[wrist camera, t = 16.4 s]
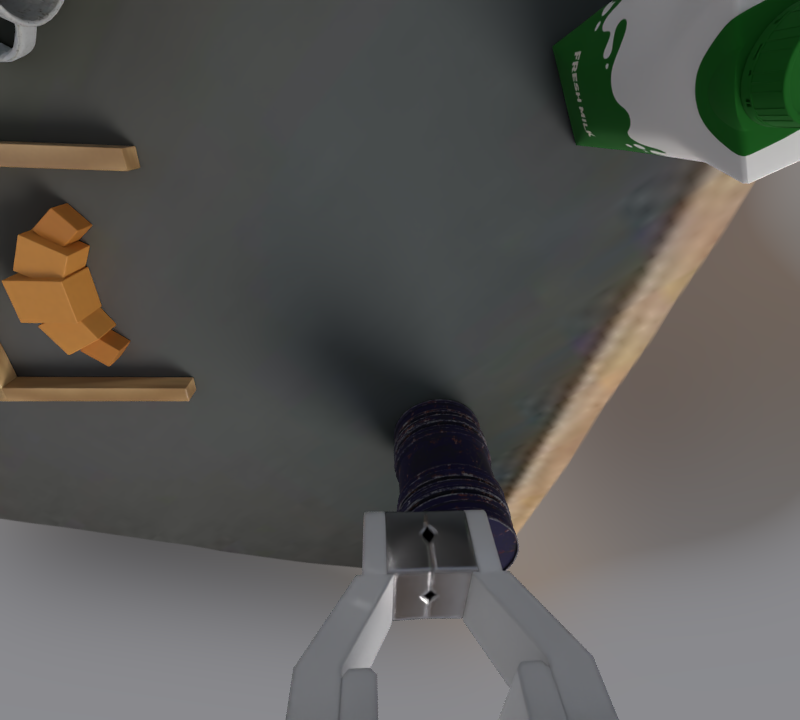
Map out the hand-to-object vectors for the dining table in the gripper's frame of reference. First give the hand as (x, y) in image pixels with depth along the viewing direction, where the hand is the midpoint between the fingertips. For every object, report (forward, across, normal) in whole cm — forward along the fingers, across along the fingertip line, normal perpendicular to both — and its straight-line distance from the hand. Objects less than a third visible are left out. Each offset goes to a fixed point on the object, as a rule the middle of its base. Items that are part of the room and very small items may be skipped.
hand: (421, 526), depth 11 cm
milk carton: (+29, -16, -12) cm, 36 cm away
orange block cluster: (+29, +28, +5) cm, 40 cm away
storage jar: (+29, -6, +22) cm, 37 cm away
